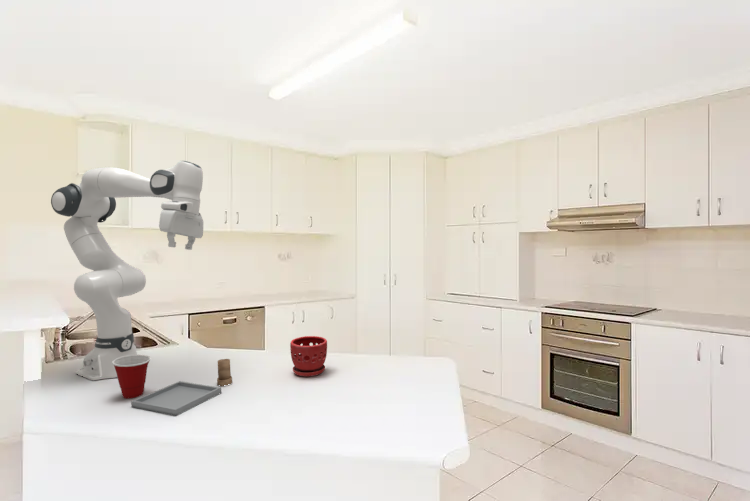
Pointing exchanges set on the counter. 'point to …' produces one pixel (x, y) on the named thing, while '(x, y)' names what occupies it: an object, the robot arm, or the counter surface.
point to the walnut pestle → (224, 372)
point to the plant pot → (308, 355)
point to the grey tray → (176, 398)
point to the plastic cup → (131, 374)
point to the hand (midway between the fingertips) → (180, 248)
